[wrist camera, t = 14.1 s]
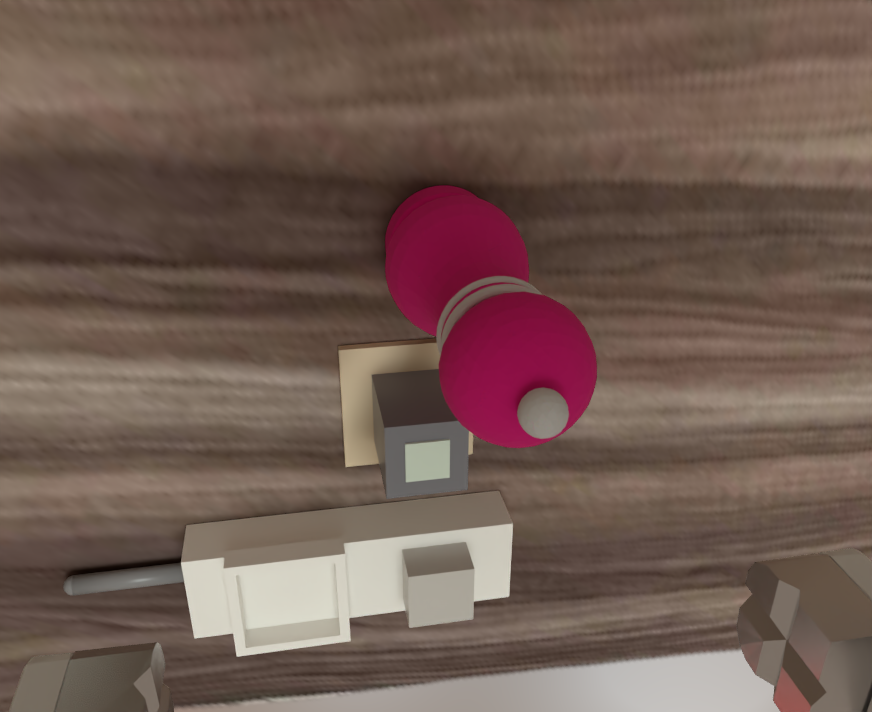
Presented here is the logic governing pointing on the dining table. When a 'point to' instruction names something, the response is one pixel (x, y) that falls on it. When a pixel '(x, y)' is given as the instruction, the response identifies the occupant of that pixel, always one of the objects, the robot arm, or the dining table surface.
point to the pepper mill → (488, 319)
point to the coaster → (357, 388)
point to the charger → (417, 435)
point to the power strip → (333, 569)
